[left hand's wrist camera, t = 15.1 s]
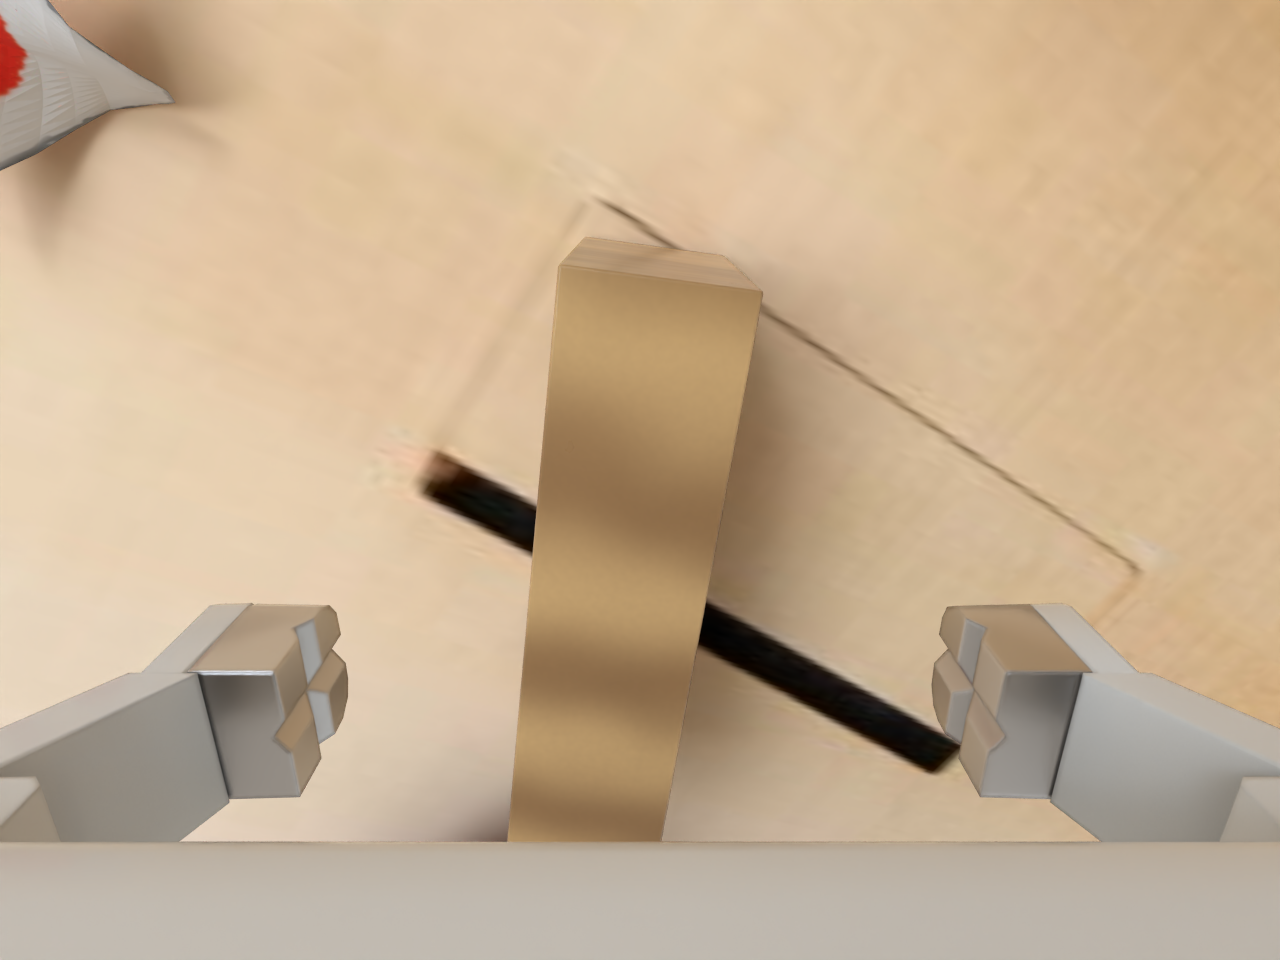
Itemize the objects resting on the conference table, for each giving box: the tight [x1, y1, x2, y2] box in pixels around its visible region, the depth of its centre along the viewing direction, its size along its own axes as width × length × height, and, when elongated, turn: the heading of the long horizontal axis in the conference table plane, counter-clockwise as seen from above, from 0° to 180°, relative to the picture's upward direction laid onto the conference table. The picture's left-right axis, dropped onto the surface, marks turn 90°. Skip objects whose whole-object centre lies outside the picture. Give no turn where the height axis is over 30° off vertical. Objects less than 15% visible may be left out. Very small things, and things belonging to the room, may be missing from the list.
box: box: [507, 237, 763, 842], centre depth 32 cm, size 25×6×11 cm, turn 172°
